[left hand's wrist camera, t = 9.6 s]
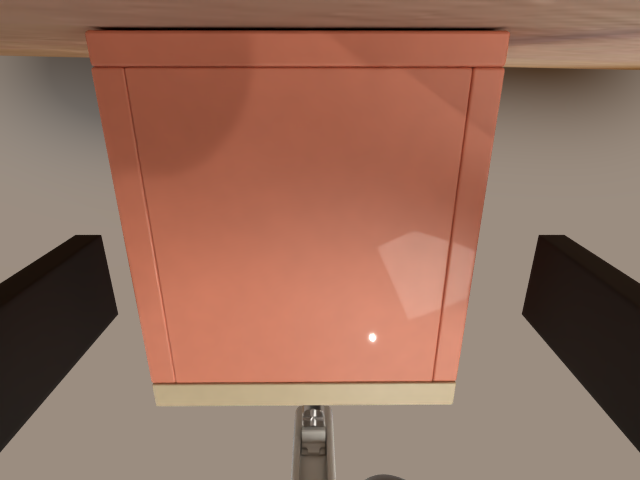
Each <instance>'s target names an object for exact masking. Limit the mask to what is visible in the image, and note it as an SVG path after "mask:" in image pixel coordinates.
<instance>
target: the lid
mask: <svg viewBox="0 0 640 480" xmlns="http://www.w3.org/2000/svg"><path fill="white" fill-rule="evenodd" d="M455 385H456V382H455V381H434V380H433V379H432V381H345V382H168V383H153V391H154V396H155V401H156V405H157V406H262V405H263V406H267V405H424V404H425V405H426V404H453V398H454V392H455Z"/></svg>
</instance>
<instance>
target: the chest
mask: <svg viewBox="0 0 640 480" xmlns="http://www.w3.org/2000/svg"><path fill="white" fill-rule="evenodd" d="M85 35H86V41H87V46H88V51H89V56H90V61H91V64H92V66H94V67H93V68H92V75H93V80H94V85H95V90H96V96H97V101H98V106H99V111H100V116H101V122H102V127H103V132H104V137H105V142H106V147H107V153H108V158H109V163H110V168H111V173H112V179H113V184H114V189H115V194H116V199H117V204H118V209H119V215H120V220H121V225H122V230H123V235H124V241H125V246H126V251H127V256H128V261H129V267H130V272H131V277H132V282H133V287H134V292H135V297H136V303H137V308H138V313H139V318H140V323H141V329H142V334H143V339H144V344H145V349H146V354H147V360H148V365H149V370H150V375H151V380H152V382H153V383H168V382H345V381H432V379H433V380H434V381H455V380H456V378H457V371H458V365H459V359H460V352H461V346H462V339H463V333H464V327H465V320H466V314H467V307H468V301H469V295H470V288H471V282H472V275H473V269H474V263H475V256H476V250H477V243H478V237H479V231H480V224H481V218H482V212H483V205H484V199H485V192H486V186H487V179H488V173H489V167H490V160H491V154H492V147H493V141H494V135H495V128H496V122H497V115H498V109H499V103H500V96H501V90H502V84H503V77H504V68H502V67H503V66H504V65H505V62H506V56H507V49H508V43H509V37H510V33H509V32H508V31H367V30H88V31H86V33H85Z"/></svg>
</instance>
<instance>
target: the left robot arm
mask: <svg viewBox="0 0 640 480" xmlns="http://www.w3.org/2000/svg"><path fill="white" fill-rule="evenodd" d="M117 315H118V311H117V307H116V302H115V297H114V293H113V288H112V283H111V279H110V274H109V269H108V265H107V260H106V255H105V251H104V246H103V241H102V237H101V235H75V236H73V237H72V238H70V239H69V240H67V241H66V242H64V243H62V244H61V245H59V246H58V247H56V248H55V249H53V250H52V251H50V252H48V253H47V254H45V255H44V256H42V257H41V258H39V259H38V260H36V261H34V262H33V263H31V264H30V265H28V266H27V267H25V268H24V269H22V270H21V271H19V272H17V273H16V274H14V275H13V276H11V277H10V278H8V279H7V280H5V281H3V282H2V283H0V452H1V451H2V450H3V448H4V447H5V446H6V445H7V444H8V443H9V441H10V440H11V439H12V438H13V437H14V436H15V434H16V433H17V432H18V431H19V430H20V429H21V427H22V426H23V425H24V424H25V423H26V421H27V420H28V419H29V418H30V417H31V416H32V414H33V413H34V412H35V411H36V410H37V409H38V407H39V406H40V405H41V404H42V403H43V402H44V400H45V399H46V398H47V397H48V396H49V394H50V393H51V392H52V391H53V390H54V389H55V388H56V386H57V385H58V384H59V383H60V382H61V380H62V379H63V378H64V377H65V376H66V375H67V373H68V372H69V371H70V370H71V369H72V368H73V366H74V365H75V364H76V363H77V362H78V361H79V359H80V358H81V357H82V356H83V355H84V354H85V352H86V351H87V350H88V349H89V348H90V347H91V345H92V344H93V343H94V342H95V341H96V339H97V338H98V337H99V336H100V335H101V334H102V332H103V331H104V330H105V329H106V328H107V327H108V325H109V324H110V323H111V322H112V321H113V320H114V318H115V317H116V316H117ZM522 315H523V316H524V317H525V318H526V320H527V321H528V322H529V323H530V324H531V325H532V327H533V328H534V329H535V330H536V331H537V332H538V334H539V335H540V336H541V337H542V338H543V339H544V341H545V342H546V343H547V344H548V345H549V347H550V348H551V349H552V350H553V351H554V352H555V354H556V355H557V356H558V357H559V358H560V359H561V361H562V362H563V363H564V364H565V365H566V366H567V368H568V369H569V370H570V371H571V372H572V373H573V375H574V376H575V377H576V378H577V379H578V380H579V382H580V383H581V384H582V385H583V386H584V388H585V389H586V390H587V391H588V392H589V393H590V394H591V396H592V397H593V398H594V399H595V400H596V402H597V403H598V404H599V405H600V406H601V407H602V409H603V410H604V411H605V412H606V413H607V414H608V416H609V417H610V418H611V419H612V420H613V421H614V423H615V424H616V425H617V426H618V427H619V428H620V430H621V431H622V432H623V433H624V434H625V436H626V437H627V438H628V439H629V440H630V441H631V443H632V444H633V445H634V446H635V447H636V448H637V450H638V451H639V452H640V283H638V282H637V281H635V280H633V279H632V278H630V277H629V276H627V275H626V274H624V273H623V272H621V271H620V270H618V269H616V268H615V267H613V266H612V265H610V264H609V263H607V262H605V261H604V260H602V259H601V258H599V257H598V256H596V255H595V254H593V253H592V252H590V251H588V250H587V249H585V248H584V247H582V246H581V245H579V244H578V243H576V242H574V241H573V240H571V239H570V238H568V237H567V236H565V235H539V237H538V241H537V246H536V251H535V255H534V260H533V265H532V269H531V274H530V279H529V283H528V288H527V293H526V297H525V302H524V307H523V311H522Z"/></svg>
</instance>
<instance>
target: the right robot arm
mask: <svg viewBox="0 0 640 480" xmlns="http://www.w3.org/2000/svg"><path fill="white" fill-rule="evenodd" d="M291 480H336V474H335V454H334V435H333V416H332V410H331V408H330V407H329V406H325V405H303V406H299V407H298V408H297V410H296V413H295V425H294V442H293V458H292V475H291ZM366 480H404V479H402V478H399V477H396V476H392V475H375V476H372V477H369V478H367V479H366Z"/></svg>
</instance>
